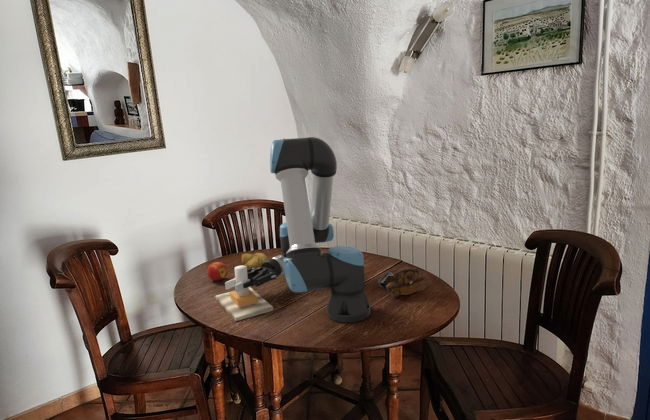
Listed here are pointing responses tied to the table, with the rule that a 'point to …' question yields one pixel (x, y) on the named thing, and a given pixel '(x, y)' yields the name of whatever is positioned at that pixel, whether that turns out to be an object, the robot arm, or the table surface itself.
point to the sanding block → (245, 295)
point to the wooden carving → (405, 282)
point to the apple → (217, 271)
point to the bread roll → (254, 260)
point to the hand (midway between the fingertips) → (230, 287)
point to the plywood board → (246, 310)
